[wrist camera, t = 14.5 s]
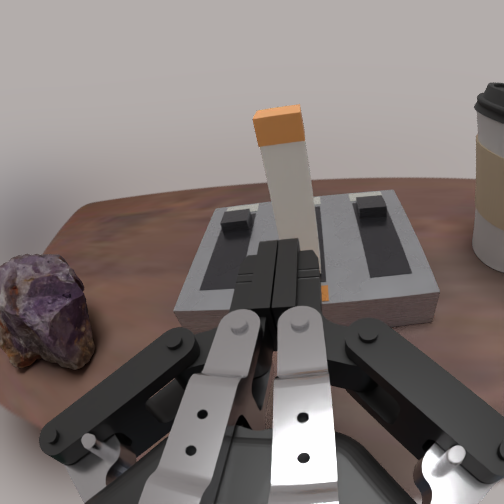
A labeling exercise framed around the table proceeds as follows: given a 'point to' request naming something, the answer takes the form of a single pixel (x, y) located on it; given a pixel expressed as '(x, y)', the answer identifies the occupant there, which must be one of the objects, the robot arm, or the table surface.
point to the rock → (43, 312)
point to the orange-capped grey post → (288, 174)
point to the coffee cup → (490, 178)
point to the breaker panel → (332, 262)
